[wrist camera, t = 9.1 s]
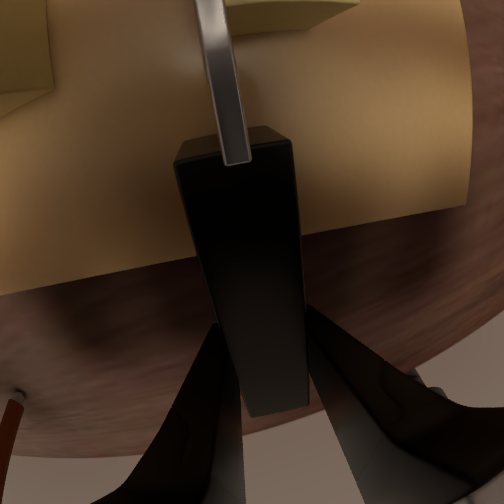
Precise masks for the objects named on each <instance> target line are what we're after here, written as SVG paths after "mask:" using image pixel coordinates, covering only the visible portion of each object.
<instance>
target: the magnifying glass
mask: <svg viewBox="0 0 504 504" xmlns="http://www.w3.org/2000/svg"><path fill="white" fill-rule="evenodd" d="M23 401H24V397H23V394H22V393H21V392H15V394H14V397H13V399H9V401H8V404H7V406H6V409H5V412H4V415H3V418H2V421H1V424H0V504H2V497H3V491H4V485H5V480H6V474H7V470H8V465H9V461H10V457H11V453H12V449H13V445H14V441H15V437H16V434H17V430H18V427H19V424H20V420H21V417H22V414H23V411H24V407H23V406H22V403H23Z"/></svg>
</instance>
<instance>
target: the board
mask: <svg viewBox="0 0 504 504" xmlns="http://www.w3.org/2000/svg"><path fill="white" fill-rule="evenodd" d="M46 19H47V32H48V42H49V51H50V59H51V66H52V73H53V79H54V85H55V88H54V89H53V90H52V91H50V92H48V93H46V94H43V95H41V96H39V97H37V98H35V99H34V100H32V101H30V102H28V103H26V104H24V105H22V106H20V107H19V108H17V109H15V110H13V111H11V112H10V113H8V114H6V115H5V116H3V117H1V118H0V296H2V295H6V294H11V293H16V292H21V291H25V290H30V289H35V288H40V287H45V286H49V285H54V284H59V283H64V282H69V281H74V280H79V279H83V278H88V277H93V276H98V275H103V274H108V273H113V272H118V271H123V270H128V269H133V268H138V267H143V266H148V265H153V264H158V263H163V262H168V261H173V260H178V259H183V258H188V257H193V256H197V255H196V251H195V248H194V244H193V241H192V237H191V234H190V230H189V227H188V223H187V219H186V216H185V212H184V208H183V204H182V201H181V197H180V193H179V189H178V185H177V181H176V177H175V173H174V169H173V162H174V160H175V157H176V155H177V153H178V151H179V149H180V147H181V145H182V143H183V142H184V141H185V140H190V139H194V138H199V137H203V136H208V135H213V134H217V131H216V126H215V121H214V115H213V110H212V105H211V99H210V94H209V89H208V83H207V78H206V73H205V67H204V62H203V56H202V51H201V45H200V40H199V34H198V29H197V23H196V17H195V12H194V6H193V0H46ZM231 38H232V43H233V49H234V55H235V60H236V66H237V72H238V78H239V83H240V89H241V95H242V101H243V107H244V113H245V119H246V125H247V128H251V127H257V126H263V125H266V126H269V127H270V128H272V129H274V130H275V131H277V132H279V133H280V134H282V135H283V136H285V137H287V138H288V139H290V140H291V142H292V146H293V154H294V163H295V172H296V182H297V191H298V202H299V212H300V223H301V235H307V234H312V233H317V232H323V231H328V230H333V229H338V228H344V227H349V226H354V225H360V224H365V223H370V222H376V221H381V220H386V219H392V218H397V217H403V216H408V215H414V214H419V213H424V212H430V211H435V210H441V209H446V208H452V207H457V206H463V205H466V202H467V195H468V187H469V177H470V166H471V151H472V85H471V71H470V60H469V51H468V43H467V36H466V30H465V24H464V19H463V14H462V9H461V4H460V0H360V4H359V5H357V6H355V7H352V8H350V9H348V10H346V11H344V12H342V13H340V14H338V15H336V16H334V17H332V18H330V19H328V20H326V21H324V22H322V23H320V24H319V25H317V26H315V27H313V28H311V29H309V30H287V31H272V32H260V33H251V34H242V35H234V36H231Z"/></svg>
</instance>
